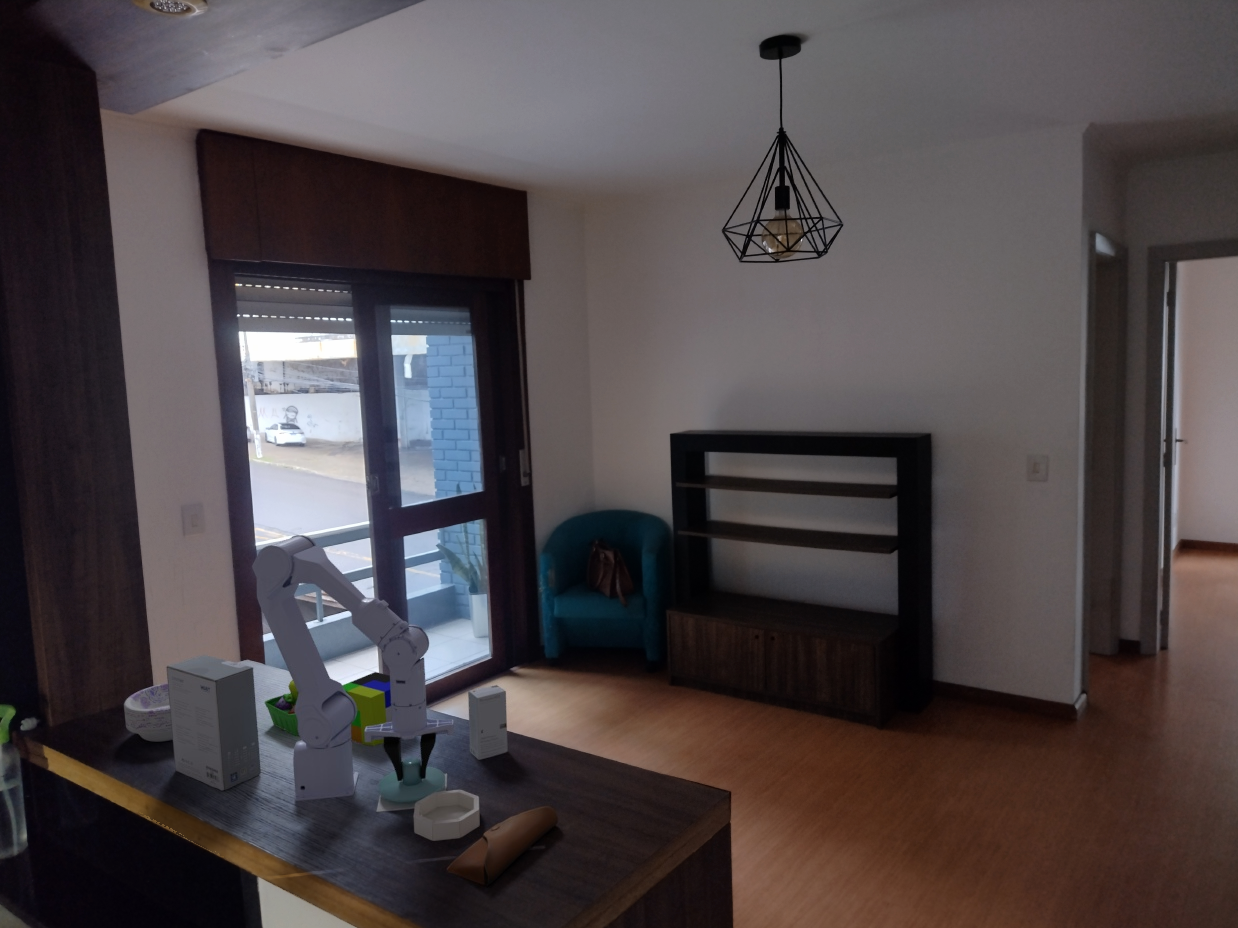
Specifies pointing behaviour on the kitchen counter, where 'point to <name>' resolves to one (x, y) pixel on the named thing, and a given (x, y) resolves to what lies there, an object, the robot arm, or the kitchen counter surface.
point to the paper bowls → (150, 713)
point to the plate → (390, 805)
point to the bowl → (446, 815)
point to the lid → (411, 782)
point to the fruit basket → (285, 710)
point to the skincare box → (487, 721)
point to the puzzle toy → (370, 704)
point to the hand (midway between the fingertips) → (411, 777)
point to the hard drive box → (214, 720)
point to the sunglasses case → (503, 845)
